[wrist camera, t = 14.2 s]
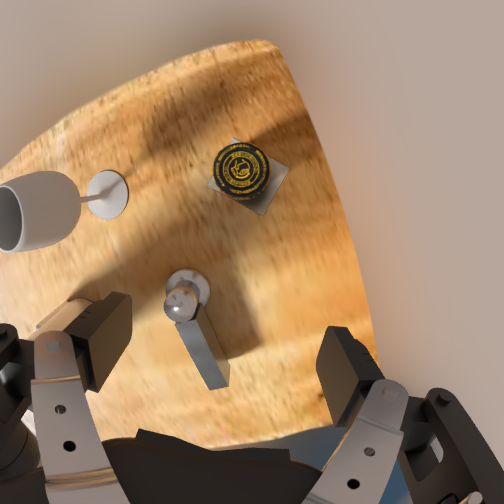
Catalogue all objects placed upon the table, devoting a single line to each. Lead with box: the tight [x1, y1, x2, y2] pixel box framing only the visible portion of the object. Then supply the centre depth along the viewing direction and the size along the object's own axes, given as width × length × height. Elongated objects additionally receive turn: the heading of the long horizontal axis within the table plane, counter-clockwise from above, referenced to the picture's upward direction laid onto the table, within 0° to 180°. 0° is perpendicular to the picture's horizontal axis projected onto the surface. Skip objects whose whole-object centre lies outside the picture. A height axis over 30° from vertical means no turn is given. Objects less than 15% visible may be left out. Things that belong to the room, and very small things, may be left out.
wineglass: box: [0, 171, 128, 253], centre depth 26 cm, size 8×8×21 cm
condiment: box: [207, 138, 290, 216], centre depth 31 cm, size 7×8×12 cm
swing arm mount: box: [166, 268, 210, 307], centre depth 40 cm, size 6×6×1 cm
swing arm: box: [164, 280, 230, 390], centre depth 38 cm, size 16×4×5 cm, turn 18°
